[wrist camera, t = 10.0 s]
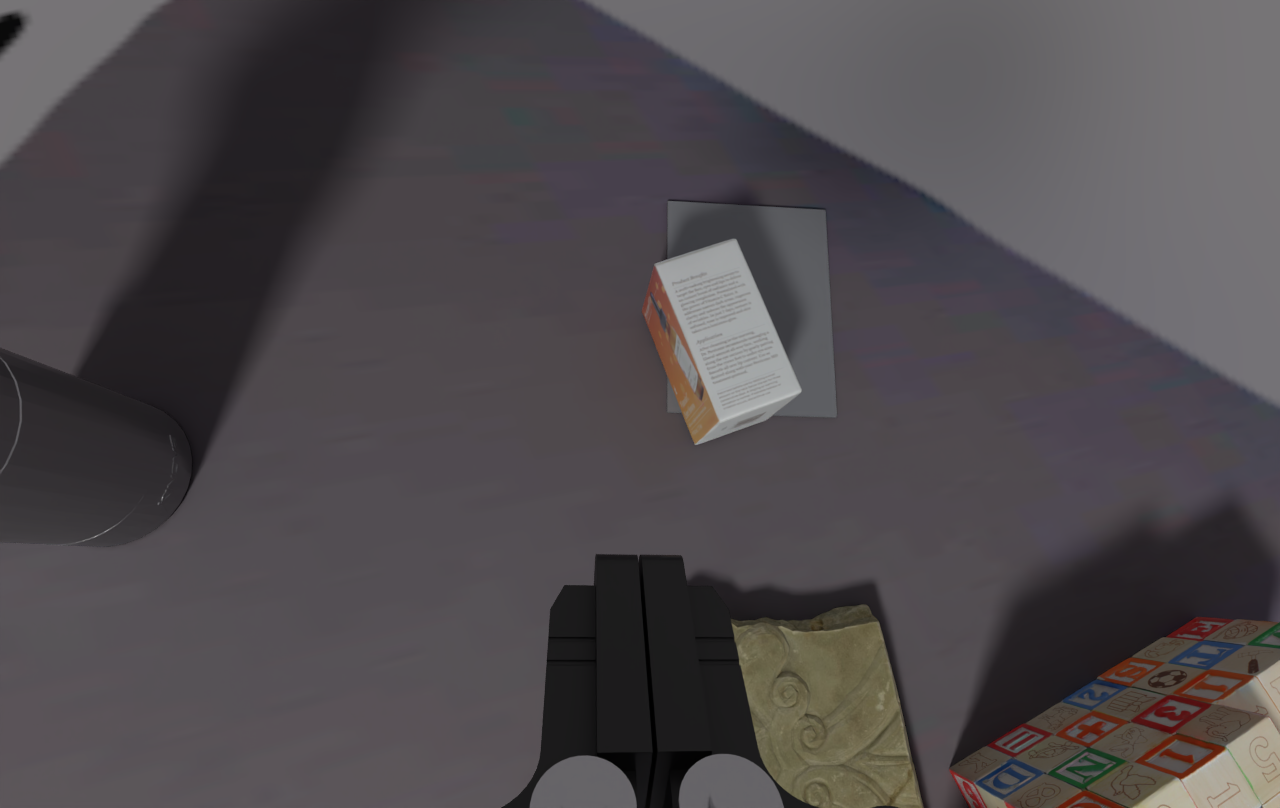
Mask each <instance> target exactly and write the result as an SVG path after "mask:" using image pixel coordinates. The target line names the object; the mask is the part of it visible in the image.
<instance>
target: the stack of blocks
mask: <svg viewBox="0 0 1280 808" xmlns="http://www.w3.org/2000/svg"><path fill="white" fill-rule="evenodd" d="M949 770H950V772H951V774H952V776H953V778H954V780H955V782H956V783H957V785H958V787H959V789H960V791H961V793H962V795H963V797H964V798H965V800H966V802H967V804H968V806H969V808H1280V622H1279V623H1277V622H1268V621H1255V620H1243V619H1236V620H1231V619H1221V618H1209V617H1196V618H1194V619H1193V620H1191V621H1190V622H1188V623H1187V624H1185V625H1183V626H1182V627H1180V628H1179V629H1177V630H1176V631H1174V632H1172V633H1171V634H1170V635H1168V636H1167V637H1162V638H1160V639H1159V640H1157V641H1155V642H1154V643H1152V644H1150V645H1149V646H1147V647H1146V648H1144V649H1142V650H1141V651H1139V652H1138V653H1136V654H1134V655H1133V656H1132V657H1131V658H1128V659H1126V660H1124V661H1123V662H1121V663H1119V664H1118V665H1116V666H1114V667H1113V668H1111V669H1109V670H1108V671H1106V672H1105V673H1103V674H1101V675H1100V676H1098V677H1097V679H1096V680H1094V681H1092V682H1091V683H1089V684H1087V685H1086V686H1084V687H1083V688H1081V689H1079V690H1078V691H1076V692H1075V693H1073V694H1071V695H1070V696H1068V697H1066V698H1065V699H1063V700H1062V701H1061V702H1060V703H1057V704H1056V705H1054V706H1052V707H1051V708H1049V709H1048V710H1046V711H1044V712H1043V713H1041V714H1040V715H1038V716H1036V717H1035V718H1033V719H1032V720H1030V721H1028V722H1027V723H1025V724H1021V725H1020V726H1018V727H1016V728H1014V729H1013V730H1011V731H1010V732H1008V733H1006V734H1005V735H1003V736H1001V737H1000V738H998V739H997V740H995V741H993V742H992V743H990V744H988V745H987V746H985V747H983V748H981V749H979V750H978V751H976V752H974V753H973V754H971V755H969V756H968V757H966V758H965V759H963V760H961V761H960V762H958V763H956V764H955V765H953V766H952V767H950V769H949Z"/></svg>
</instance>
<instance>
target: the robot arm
mask: <svg viewBox="0 0 1280 808" xmlns="http://www.w3.org/2000/svg"><path fill="white" fill-rule="evenodd" d="M191 473H192V455H191V450H190V445H189V442H188V440H187V438H186V436H185V433H184V431H183V430H182V429H181V428H180V426H179V425H178V424H177V422H176V421H175V420H174V419H172V418H171V417H170V416H169V415H167V414H166V413H165V412H163V411H161V410H159V409H157V408H155V407H153V406H151V405H148V404H146V403H143V402H140V401H138V400H135V399H133V398H130V397H127V396H125V395H122V394H120V393H117V392H115V391H112V390H110V389H107V388H105V387H102V386H99V385H97V384H94V383H92V382H89V381H86V380H84V379H81V378H78V377H76V376H73V375H71V374H68V373H65V372H63V371H60V370H58V369H55V368H52V367H50V366H47V365H44V364H42V363H39V362H37V361H34V360H31V359H29V358H26V357H23V356H21V355H18V354H16V353H13V352H10V351H8V350H5V349H3V348H0V542H2V543H25V544H46V545H65V546H93V547H110V546H116V545H122V544H126V543H129V542H131V541H134V540H137V539H139V538H142V537H143V536H145V535H147V534H148V533H150V532H152V531H153V530H155V529H157V528H158V527H159V526H160V525H161V524H162V523H163V522H165V521H166V520H167V519H168V518H169V517H170V516H171V515H172V513H173V512H174V511H175V509H176V508H177V507H178V506H179V504H180V503H181V501H182V499H183V497H184V495H185V493H186V491H187V489H188V485H189V481H190V478H191ZM734 638H735V637H734V632H733V627H732V623H731V618H730V613H729V610H728V608H727V607H726V605H725V604H724V603H723V601H722V600H721V598H720V597H719V596H718V594H717V593H716V591H715V590H714V589H713V587H712V586H687V582H686V575H685V569H684V562H683V558H682V556H681V555H640V556H639V562H638V557H637V555H605V554H596V556H595V573H594V586H587V585H564V587H563V589H562V590H561V592H560V594H559V595H558V597H557V599H556V601H555V602H554V604H553V606H552V607H551V609H550V622H549V638H548V652H547V667H546V682H545V696H544V711H543V726H542V741H541V753H540V760H539V763H538V766H537V769H536V771H535V773H534V775H533V778H532V779H531V781H530V782H529V784H528V785H527V787H526V788H525V789H524V790H523V791H522V792H521V793H520V794H519V795H518V796H517V797H516V798H515V799H513V800H512V801H511V802H510V803H508V804H506V805H505V806H503V807H502V808H819V807H816V806H813V805H810V804H808V803H805V802H803V801H801V800H799V799H797V798H796V797H794V796H792V795H791V794H790V793H788V792H787V791H786V790H784V789H783V788H782V787H781V786H780V785H779V784H778V783H777V782H776V781H775V780H774V778H773V777H772V776H771V775H770V773H769V772H768V770H767V768H766V767H765V765H764V763H763V761H762V758H761V756H760V752H759V749H758V745H757V740H756V735H755V731H754V726H753V721H752V717H751V712H750V707H749V702H748V698H747V693H746V688H745V684H744V679H743V674H742V670H741V665H739V655H738V651H737V646H736V642H735V641H734ZM872 808H898V807H895V806H886V805H885V806H875V807H872Z"/></svg>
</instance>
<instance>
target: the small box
mask: <svg viewBox="0 0 1280 808" xmlns="http://www.w3.org/2000/svg"><path fill="white" fill-rule="evenodd" d="M642 313H643V315H644V318H645V320H646V323H647V325H648V328H649V330H650V333H651V335H652V338H653V340H654V343H655V345H656V348H657V351H658V353H659V356H660V358H661V361H662V363H663V366H664V368H665V371H666V373H667V376H668V378H669V381H670V383H671V386H672V388H673V391H674V394H675V396H676V399H677V401H678V404H679V406H680V409H681V411H682V414H683V416H684V419H685V421H686V424H687V426H688V429H689V431H690V434H691V436H692V439H693V441H694V444H695V445H698V444H701V443H704V442H706V441H709V440H712V439H715V438H718V437H721V436H723V435H726V434H729V433H731V432H734V431H737V430H740V429H743V428H746V427H748V426H751V425H754V424H757V423H760V422H763V421H765V420H767V419H768V418H770V417H771V416H772V415H773V414H775V413H776V412H777V411H778V410H780V409H781V408H782V407H784V406H785V405H786V404H787V403H789V402H790V401H791V400H792V399H794V398H795V397H796V396H797V395H799V394H800V393H801V391H802V389H801V386H800V384H799V382H798V380H797V377H796V375H795V373H794V370H793V368H792V366H791V363H790V361H789V359H788V356H787V354H786V352H785V350H784V347H783V345H782V343H781V340H780V338H779V336H778V334H777V331H776V329H775V327H774V324H773V322H772V320H771V317H770V315H769V313H768V310H767V308H766V306H765V304H764V301H763V299H762V297H761V294H760V292H759V290H758V287H757V285H756V283H755V281H754V278H753V276H752V274H751V271H750V269H749V267H748V264H747V262H746V260H745V257H744V255H743V253H742V251H741V248H740V246H739V244H738V241H737V240H736V239H730V240H726V241H723V242H720V243H717V244H714V245H711V246H708V247H705V248H701V249H698V250H695V251H692V252H689V253H686V254H683V255H680V256H677V257H673V258H670V259H667V260H664V261H661V262H659V263H656V264H654V268H653V272H652V275H651V279H650V283H649V287H648V290H647V294H646V298H645V301H644V305H643V309H642Z"/></svg>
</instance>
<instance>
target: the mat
mask: <svg viewBox="0 0 1280 808" xmlns="http://www.w3.org/2000/svg"><path fill="white" fill-rule="evenodd" d="M730 239H736V240H737V241H738V244H739V246H740V248H741V251H742V253H743V255H744V257H745V260H746V262H747V264H748V267H749V269H750V271H751V274H752V276H753V278H754V281H755V283H756V285H757V287H758V290H759V292H760V294H761V297H762V299H763V301H764V304H765V306H766V308H767V310H768V313H769V315H770V317H771V320H772V322H773V324H774V327H775V329H776V331H777V334H778V336H779V338H780V340H781V343H782V345H783V347H784V350H785V352H786V354H787V356H788V359H789V361H790V363H791V366H792V368H793V370H794V373H795V375H796V377H797V380H798V382H799V384H800V386H801V389H802V391H801V393H800V394H799V395H797V396H796V397H795V398H794V399H792V400H791V401H790V402H789V403H787V404H786V405H785V406H784V407H782V408H781V409H780V410H778V411H777V412H776V413H775V414H773V415H772V416H794V417H827V418H836V417H837V407H836V389H835V371H834V353H833V335H832V317H831V300H830V282H829V264H828V246H827V228H826V210H818V209H801V208H784V207H766V206H749V205H731V204H714V203H697V202H679V201H668V202H667V259H670V258H673V257H677V256H680V255H683V254H686V253H689V252H692V251H695V250H698V249H701V248H705V247H708V246H711V245H714V244H717V243H720V242H723V241H726V240H730ZM667 413H682V411H681V409H680V406H679V404H678V401H677V399H676V396H675V394H674V391H673V388H672V386H671V383H670V381H669V378H668V376H667Z"/></svg>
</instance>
